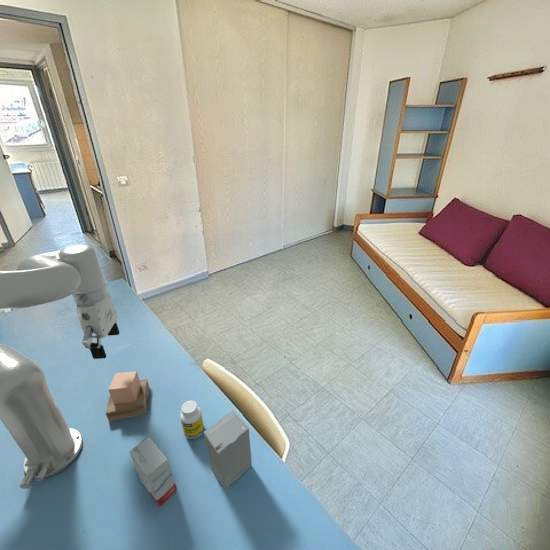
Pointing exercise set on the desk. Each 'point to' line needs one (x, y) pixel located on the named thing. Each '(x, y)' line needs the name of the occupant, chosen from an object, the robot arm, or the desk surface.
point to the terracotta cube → (125, 387)
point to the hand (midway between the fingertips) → (107, 345)
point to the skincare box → (228, 448)
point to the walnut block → (129, 405)
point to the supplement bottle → (191, 419)
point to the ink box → (153, 470)
